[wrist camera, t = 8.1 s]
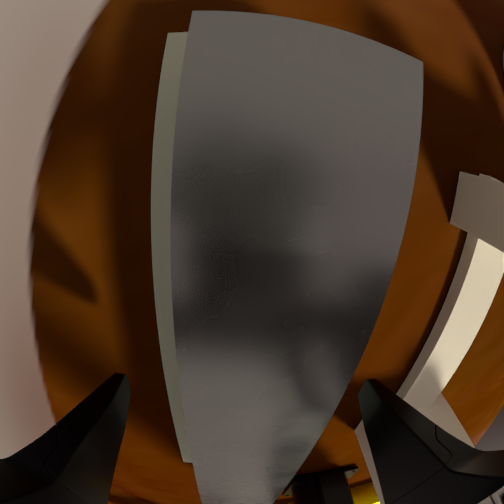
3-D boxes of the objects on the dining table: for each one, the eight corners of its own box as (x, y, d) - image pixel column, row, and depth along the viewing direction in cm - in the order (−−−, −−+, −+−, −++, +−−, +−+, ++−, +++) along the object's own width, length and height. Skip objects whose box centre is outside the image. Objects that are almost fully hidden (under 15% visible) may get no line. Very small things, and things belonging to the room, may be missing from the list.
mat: (280, 455, 16) (282, 463, 15) (184, 453, 15) (183, 461, 14) (375, 70, 7) (386, 66, 6) (172, 41, 7) (168, 33, 6)
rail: (264, 457, 14) (270, 506, 10) (204, 455, 14) (202, 506, 10) (344, 91, 7) (422, 62, 3) (211, 71, 6) (192, 10, 3)
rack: (425, 413, 16) (461, 482, 8) (352, 432, 15) (383, 522, 8) (523, 196, 9) (618, 245, 2) (460, 164, 9) (614, 222, 1)
